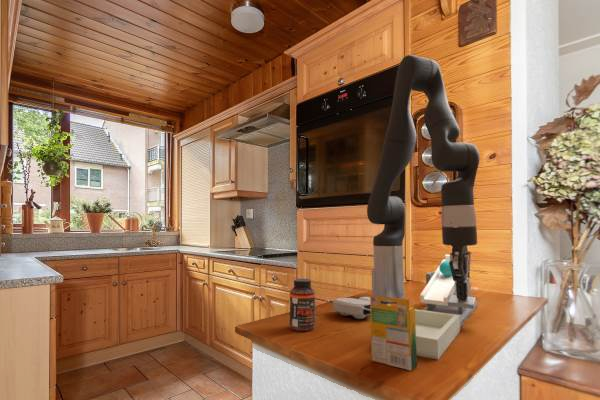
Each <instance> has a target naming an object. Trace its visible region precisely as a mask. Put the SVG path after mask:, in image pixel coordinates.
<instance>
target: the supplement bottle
mask: <svg viewBox="0 0 600 400" xmlns="http://www.w3.org/2000/svg"><path fill="white" fill-rule="evenodd" d="M311 283H312V280H311V279H309V278H295V279H294V280H293V285H294V286H293V288H291V289H290V291H289V327H290V329H291V330H293V331H295V332H309V331H312V330H314V329H315V327H316V292H315V290H314V289H313V288H312V286H311V285H312V284H311Z"/></svg>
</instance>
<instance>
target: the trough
mask: <svg viewBox="0 0 600 400" xmlns="http://www.w3.org/2000/svg"><path fill="white" fill-rule="evenodd" d="M444 257H445V258H443V259H442V261H441V263H442V262H444V261H449V262H450V261H451V260H450V254H445V256H444ZM441 263H440V264H441ZM440 264H439V266H438V267H437V269H436V270H435V271H434V272H435V273H434V275H433V276H432V278H431V279H430V281H429V282H428V284H427V285H426V286H425V287H424V288H423V289H422V291H421V293H420V295H419V298H420V303H421V304H426V305H427V304H436V305H444V306H453V307H461V308H470V309H474V306H475V303H476V302H477V297H476V296H471V297H468V298H467V299H466V300H463V299H458V298H457V295H453V294H454V292H455V290H456V283H455V281H453V277H452V275H450V276H446V275H443V274H442V273H441V272H440V269H439V267H440Z"/></svg>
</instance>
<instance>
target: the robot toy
mask: <svg viewBox="0 0 600 400" xmlns="http://www.w3.org/2000/svg"><path fill="white" fill-rule="evenodd" d="M326 301H327V302H330V303H333V304H332V306H333V307H332V308H333V310H334V311H335V312H337V313H339V314H340V315H341V316H344V317H345V316H346V317H347V316H352V317H354V318H355V319H357V320H363V319H364V318H366V317H367V316H371V313H370V306H371V303H370V296H361V297H357V298H352V297H339V298H335V299H334V300H330V299H326ZM381 303H382V304H388V305H391V304H390V303H388V302H382V301H381Z"/></svg>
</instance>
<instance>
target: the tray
mask: <svg viewBox="0 0 600 400" xmlns="http://www.w3.org/2000/svg"><path fill="white" fill-rule="evenodd" d="M415 324H416V350H417V356H418V357H421V358H427V359H432V360H440V359H441V357H442V356H443V354H444V353H445V351H447V349H448V348H449V347H450V345H451V343H452V342H453V341H454V340H456V337H457V336H458V335H459V333H460V332H461V327H460V315H455V314H448V313H440V312H432V311H425V310H422V309H416V308H415Z"/></svg>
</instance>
